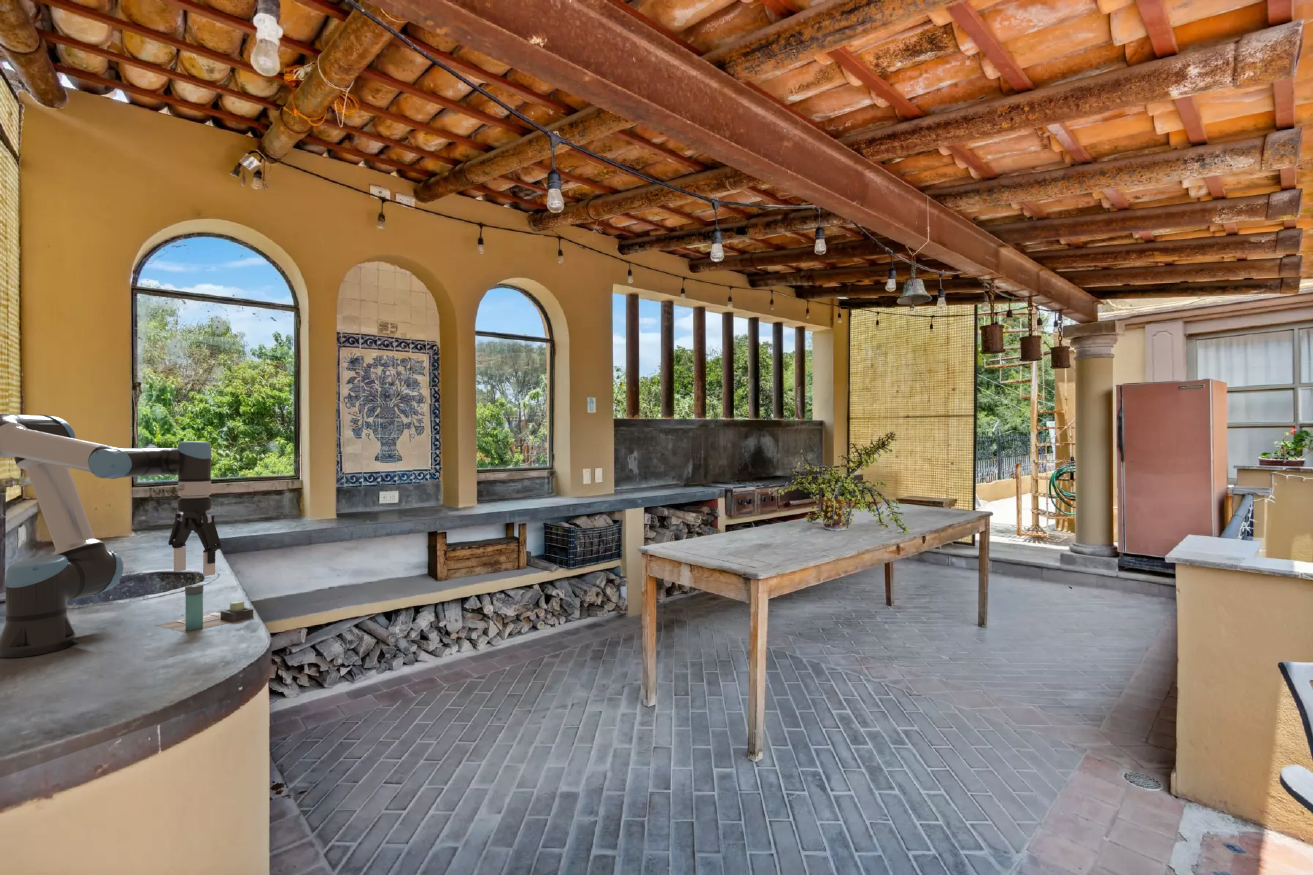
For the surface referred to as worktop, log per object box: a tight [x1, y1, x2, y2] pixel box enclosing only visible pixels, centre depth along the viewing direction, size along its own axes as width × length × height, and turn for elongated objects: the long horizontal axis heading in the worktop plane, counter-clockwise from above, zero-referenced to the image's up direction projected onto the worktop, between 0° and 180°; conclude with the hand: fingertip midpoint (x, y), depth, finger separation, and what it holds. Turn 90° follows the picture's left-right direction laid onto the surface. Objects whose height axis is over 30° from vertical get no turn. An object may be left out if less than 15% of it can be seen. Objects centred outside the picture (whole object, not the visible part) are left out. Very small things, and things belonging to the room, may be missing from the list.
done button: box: [229, 600, 245, 613], centre depth 194 cm, size 4×4×3 cm
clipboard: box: [155, 606, 254, 634], centre depth 191 cm, size 16×18×4 cm
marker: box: [184, 584, 204, 632], centre depth 183 cm, size 4×4×12 cm
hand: (194, 573), depth 181 cm, fingers open, 13 cm apart
